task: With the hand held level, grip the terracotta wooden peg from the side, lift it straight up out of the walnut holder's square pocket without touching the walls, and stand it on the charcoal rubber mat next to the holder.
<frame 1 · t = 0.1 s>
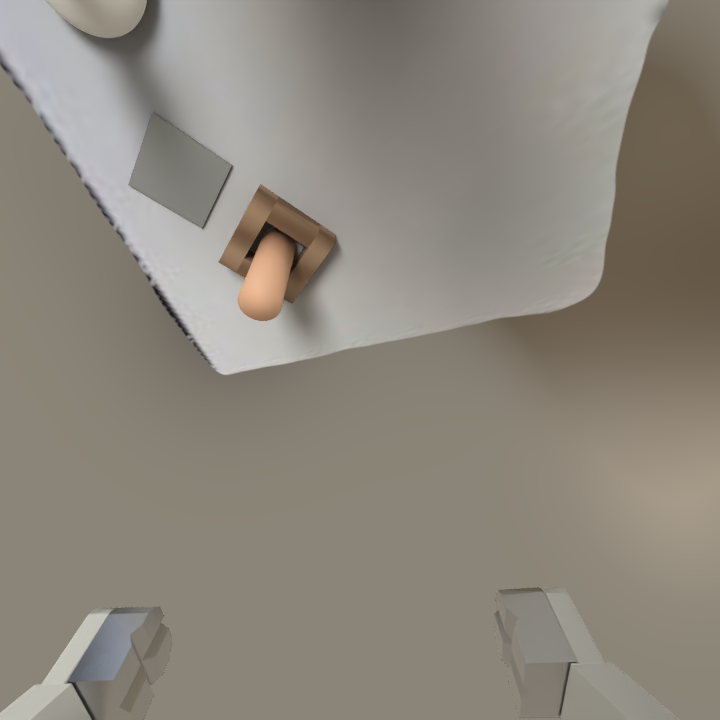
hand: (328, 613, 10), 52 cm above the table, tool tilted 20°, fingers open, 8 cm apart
peg: (270, 270, 52), in the holder
holder: (278, 244, 58), on the table
mat: (180, 174, 52), on the table
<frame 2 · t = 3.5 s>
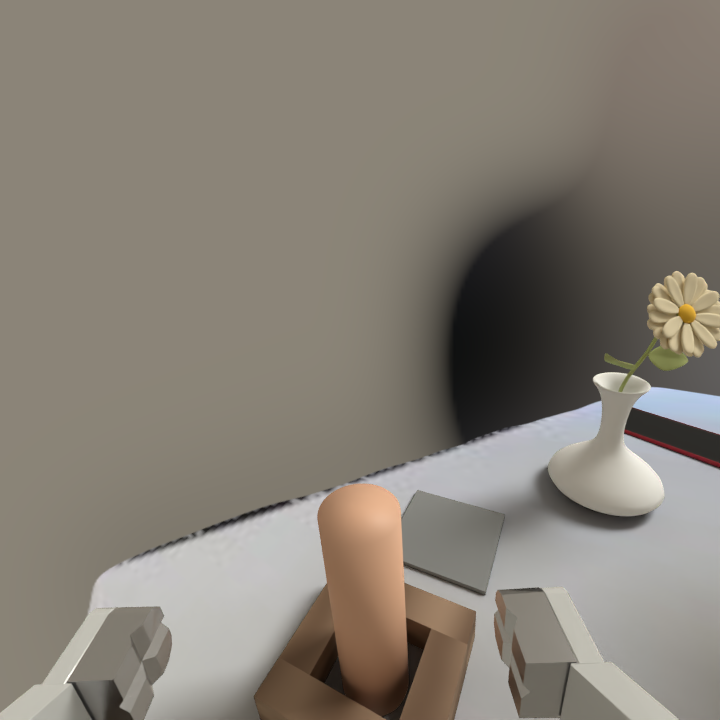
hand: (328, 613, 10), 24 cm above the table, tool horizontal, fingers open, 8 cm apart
peg: (368, 603, 27), in the holder
holder: (375, 676, 30), on the table
smartphone: (671, 439, 54), on the table
mat: (446, 536, 41), on the table
flower in vase: (607, 490, 46), on the table
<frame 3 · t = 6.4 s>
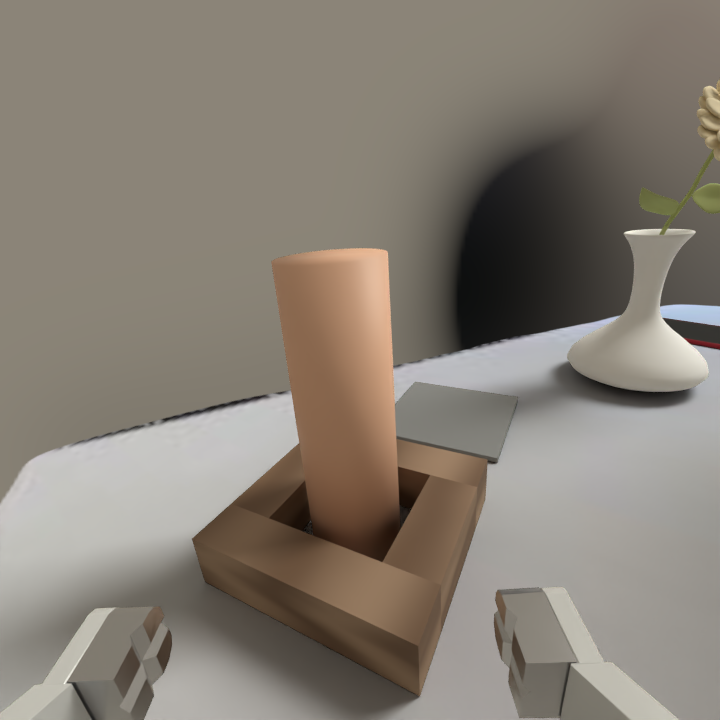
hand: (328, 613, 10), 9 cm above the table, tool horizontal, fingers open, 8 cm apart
peg: (345, 417, 20), in the holder
holder: (357, 536, 23), on the table
smartphone: (705, 341, 48), on the table
mat: (448, 416, 35), on the table
flower in vase: (638, 379, 39), on the table
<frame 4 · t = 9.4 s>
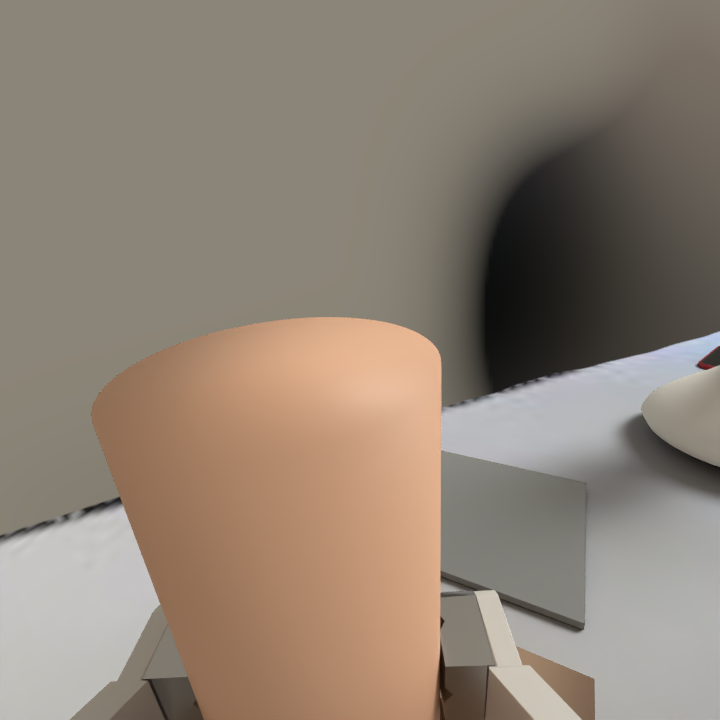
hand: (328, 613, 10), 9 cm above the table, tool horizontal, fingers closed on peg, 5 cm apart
peg: (329, 681, 9), in the holder, touching gripper
mat: (489, 518, 24), on the table
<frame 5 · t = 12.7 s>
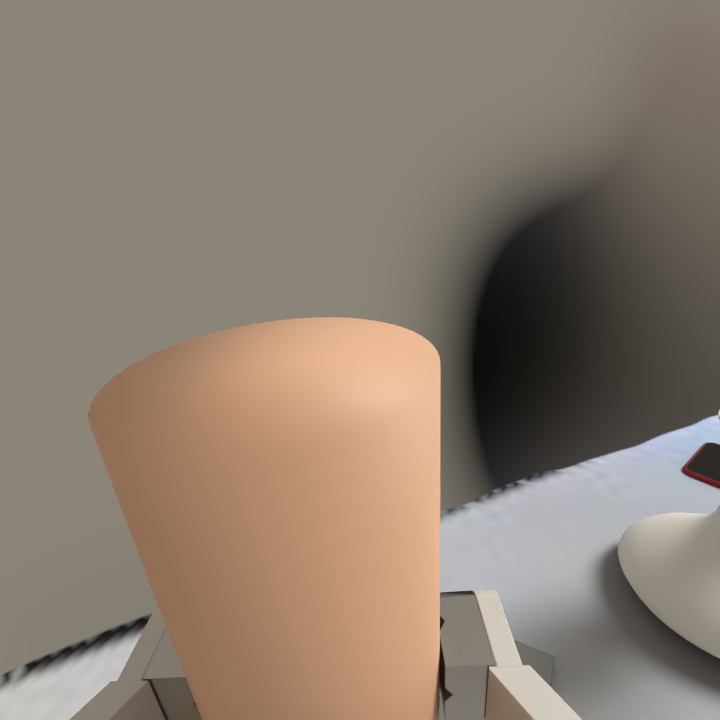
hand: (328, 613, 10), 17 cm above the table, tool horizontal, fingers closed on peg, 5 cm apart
peg: (329, 682, 9), point 16 cm above the table, touching gripper
mat: (448, 704, 22), on the table
when the fingers open (11 cm above the table, at t = 15.9 s): peg drops 2 cm, resting on mat.
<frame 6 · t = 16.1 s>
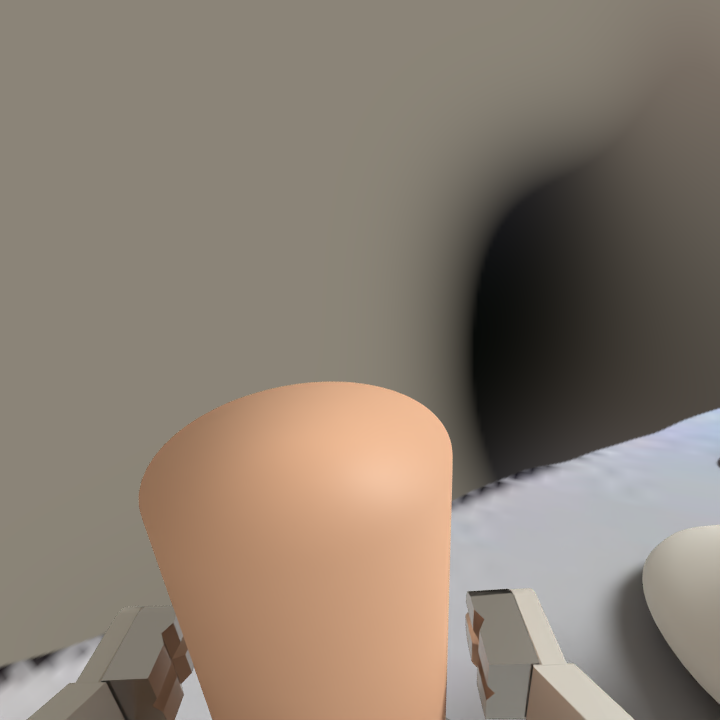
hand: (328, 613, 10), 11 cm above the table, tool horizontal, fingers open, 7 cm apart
peg: (341, 719, 10), on the mat
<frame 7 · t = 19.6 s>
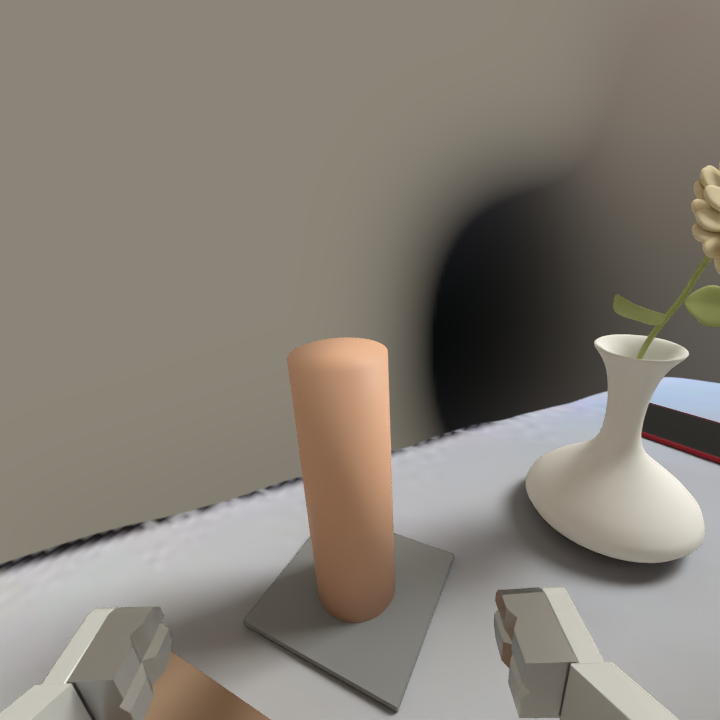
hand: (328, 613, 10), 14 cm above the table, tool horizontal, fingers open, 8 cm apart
peg: (348, 484, 23), on the mat
smartphone: (700, 443, 39), on the table
mat: (356, 589, 26), on the table
flower in vase: (614, 517, 30), on the table
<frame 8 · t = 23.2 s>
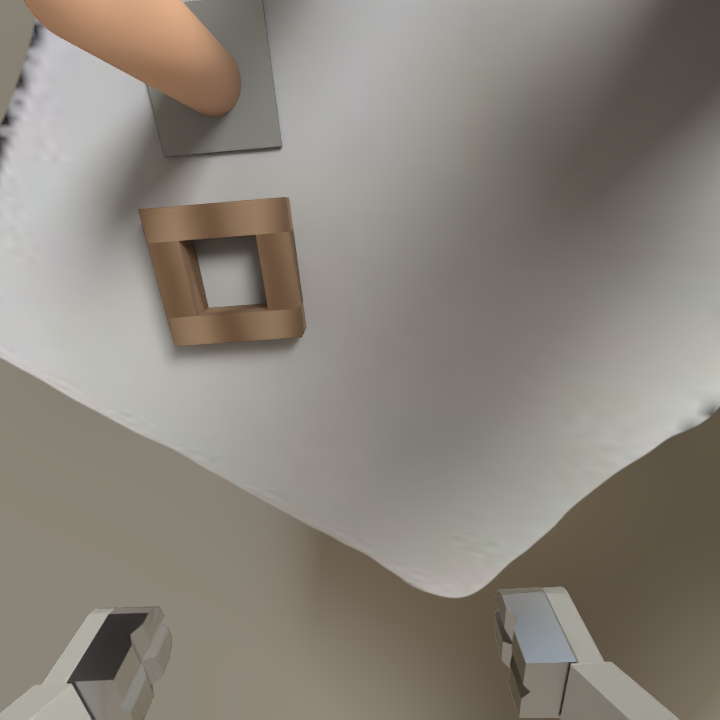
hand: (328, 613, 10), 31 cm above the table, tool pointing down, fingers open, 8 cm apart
peg: (161, 42, 24), on the mat
holder: (235, 271, 37), on the table
mat: (211, 82, 32), on the table
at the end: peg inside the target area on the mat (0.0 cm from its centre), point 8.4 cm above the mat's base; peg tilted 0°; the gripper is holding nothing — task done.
